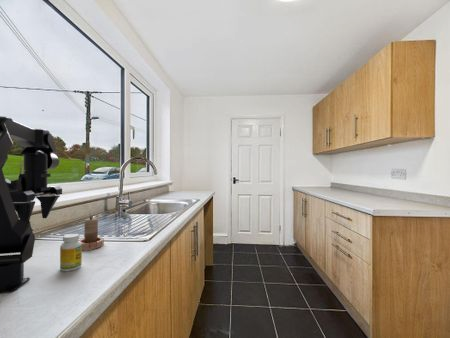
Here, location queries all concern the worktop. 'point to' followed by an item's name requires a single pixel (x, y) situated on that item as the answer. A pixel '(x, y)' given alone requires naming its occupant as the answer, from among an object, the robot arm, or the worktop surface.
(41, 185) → the robot arm
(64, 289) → the worktop surface
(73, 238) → the supplement bottle
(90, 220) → the brown cylinder
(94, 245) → the ring
